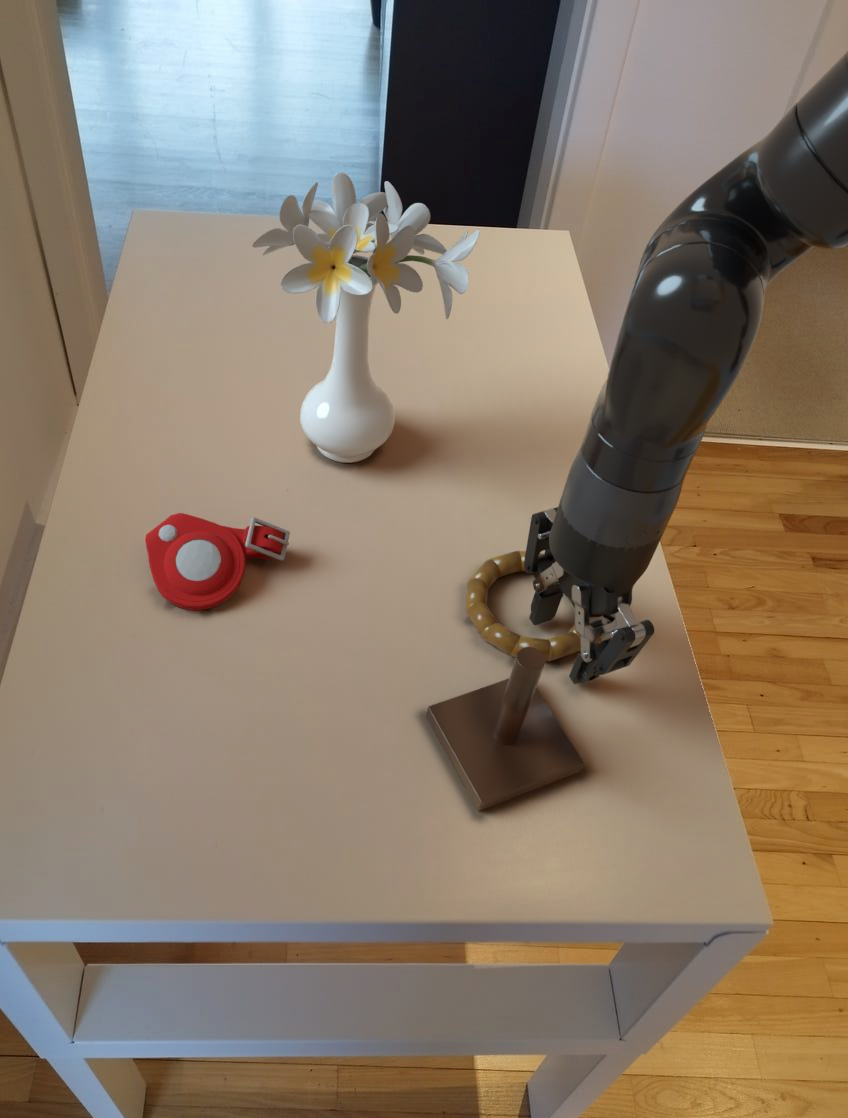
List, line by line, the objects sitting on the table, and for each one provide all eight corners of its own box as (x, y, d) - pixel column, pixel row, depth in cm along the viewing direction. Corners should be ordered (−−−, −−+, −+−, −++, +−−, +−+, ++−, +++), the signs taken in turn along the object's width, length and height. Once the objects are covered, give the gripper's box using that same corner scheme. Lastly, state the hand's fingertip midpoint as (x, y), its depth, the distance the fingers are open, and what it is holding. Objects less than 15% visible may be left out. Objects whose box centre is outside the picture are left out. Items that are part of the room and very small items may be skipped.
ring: (553, 547, 85) (557, 534, 83) (621, 640, 79) (627, 627, 77) (442, 581, 81) (445, 567, 80) (505, 680, 75) (509, 668, 74)
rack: (522, 682, 75) (553, 593, 66) (580, 771, 70) (621, 689, 61) (425, 716, 73) (443, 628, 64) (478, 811, 68) (505, 731, 59)
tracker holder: (194, 625, 75) (115, 543, 77) (200, 641, 80) (125, 563, 81) (301, 534, 78) (223, 457, 80) (301, 554, 83) (227, 481, 84)
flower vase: (454, 477, 90) (499, 235, 70) (267, 491, 87) (258, 243, 67) (427, 394, 97) (460, 154, 77) (254, 404, 95) (242, 158, 75)
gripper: (721, 563, 61) (645, 701, 74) (604, 429, 68) (554, 576, 82) (627, 594, 59) (566, 730, 72) (518, 452, 66) (481, 599, 80)
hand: (560, 647), depth 77 cm, fingers open, 6 cm apart
